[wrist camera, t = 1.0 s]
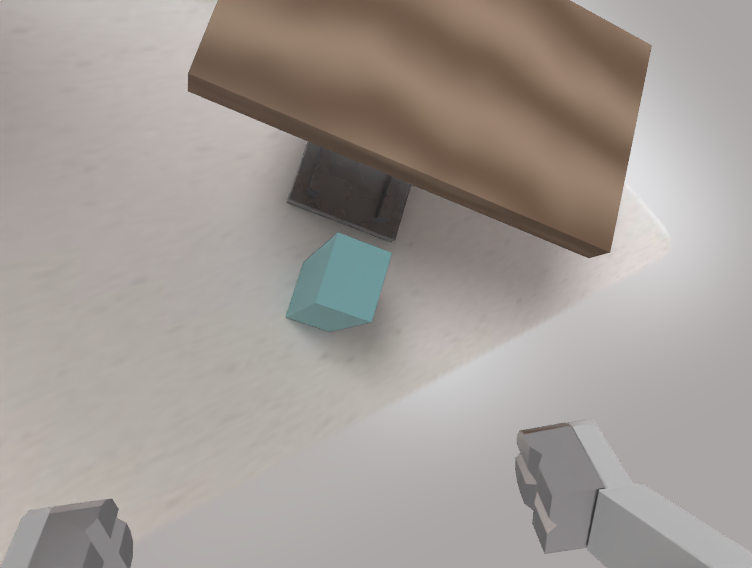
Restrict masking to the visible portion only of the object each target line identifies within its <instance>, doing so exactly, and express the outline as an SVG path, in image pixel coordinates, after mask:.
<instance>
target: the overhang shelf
mask: <svg viewBox="0 0 752 568" xmlns="http://www.w3.org/2000/svg"><path fill="white" fill-rule="evenodd" d="M651 47H652V46H651V45H650V44H648V43H646V42H644V41H643V40H641V39H639V38H637V37H635V36H634V35H632V34H630V33H628V32H626V31H624V30H623V29H621V28H619V27H617V26H615V25H614V24H612V23H610V22H608V21H606V20H605V19H602V18H601V17H599V16H597V15H595V14H594V13H592V12H590V11H588V10H586V9H585V8H583V7H581V6H579V5H577V4H575V3H574V2H572V1H570V0H218V1H217V4H216V6H215V9H214V11H213V14H212V16H211V18H210V21H209V23H208V26H207V28H206V31H205V33H204V36H203V38H202V41H201V43H200V46H199V48H198V50H197V53H196V55H195V58H194V60H193V63H192V65H191V68H190V70H189V73H188V91H189V92H191V93H193V94H196V95H198V96H201V97H203V98H206V99H208V100H210V101H213V102H215V103H218V104H220V105H222V106H225V107H227V108H230V109H232V110H234V111H237V112H239V113H242V114H244V115H246V116H249V117H251V118H254V119H256V120H258V121H261V122H263V123H266V124H268V125H270V126H273V127H275V128H278V129H280V130H282V131H285V132H287V133H290V134H292V135H294V136H297V137H299V138H302V139H304V140H306V141H309V142H311V143H314V144H316V145H318V146H321V147H323V148H326V149H328V150H330V151H333V152H335V153H338V154H340V155H342V156H345V157H347V158H350V159H352V160H354V161H357V162H359V163H362V164H364V165H366V166H369V167H371V168H374V169H376V170H378V171H381V172H383V173H386V174H388V175H390V176H393V177H395V178H398V179H400V180H402V181H405V182H407V183H410V184H412V185H414V186H417V187H419V188H422V189H424V190H426V191H429V192H431V193H434V194H436V195H438V196H441V197H443V198H446V199H448V200H450V201H453V202H455V203H458V204H460V205H462V206H465V207H467V208H470V209H472V210H474V211H477V212H479V213H482V214H484V215H486V216H489V217H491V218H494V219H496V220H498V221H501V222H503V223H506V224H508V225H510V226H513V227H515V228H518V229H520V230H522V231H525V232H527V233H530V234H532V235H534V236H537V237H539V238H542V239H544V240H546V241H549V242H551V243H554V244H556V245H558V246H561V247H563V248H566V249H568V250H570V251H573V252H575V253H578V254H580V255H582V256H585V257H587V258H591V257H595V256H598V255H602V254H606V253H610V250H611V245H612V241H613V236H614V231H615V226H616V221H617V216H618V211H619V206H620V201H621V196H622V191H623V186H624V181H625V176H626V171H627V165H628V161H629V156H630V151H631V146H632V141H633V136H634V131H635V126H636V121H637V116H638V111H639V106H640V101H641V96H642V91H643V86H644V82H645V77H646V72H647V67H648V61H649V56H650V52H651Z"/></svg>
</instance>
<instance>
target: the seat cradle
mask: <svg viewBox="0 0 752 568" xmlns="http://www.w3.org/2000/svg"><path fill="white" fill-rule="evenodd" d="M410 187H411V184H410V183H407V182H405V181H402V180H400V179H398V178H395V177H393V176H390V175H388V174H386V173H383V172H381V171H378V170H376V169H374V168H371V167H369V166H366V165H364V164H362V163H359V162H357V161H354V160H352V159H350V158H347V157H345V156H342V155H340V154H338V153H335V152H333V151H330V150H328V149H326V148H323V147H321V146H318V145H316V144H314V143H311V142H309V141H308V142H307V145H306V148H305V151H304V154H303V157H302V160H301V163H300V166H299V169H298V171H297V174H296V177H295V180H294V183H293V186H292V189H291V192H290V195H289V198H288V201H287V202H288V203H290V204H293V205H295V206H298V207H301V208H303V209H306V210H309V211H311V212H314V213H316V214H319V215H322V216H324V217H327V218H329V219H332V220H335V221H337V222H340V223H342V224H345V225H348V226H350V227H353V228H355V229H358V230H361V231H363V232H366V233H368V234H371V235H374V236H376V237H379V238H381V239H384V240H387V241H389V242H392V241H394V240H395V238H396V235H397V231H398V228H399V224H400V221H401V218H402V214H403V211H404V207H405V204H406V200H407V197H408V194H409V190H410Z"/></svg>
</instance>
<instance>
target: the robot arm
mask: <svg viewBox="0 0 752 568" xmlns="http://www.w3.org/2000/svg"><path fill="white" fill-rule="evenodd" d="M517 445H518V448H519V450H520V452H521V453H520V454H519V455H518V456H517V457H516V463H515V470H516V477H517V483H518V486H519V490H520V493H521V496H522V498H523V501H524V504H526V505H527V506H528V507H530V508H531V509H532V510H534V512H533V525H534V529H535V531H536V533H537V536H538V538H539V541H540V543H541V546H542V548H543V551H544V553H545V554H547V553H554V552H561V551H568V550H574V549H580V548H587V550H588V551H589V552H590V553H591V554H592V555H594V557H595V558H597V559H598V560H599V561H600V562H601V563H602V564H603V565H604V566H606V567H607V568H752V553H751V552H750V551H748V550H747V549H745V548H743V547H742V546H740V545H739V544H737V543H735V542H734V541H732V540H731V539H729V538H728V537H726V536H724V535H723V534H721V533H720V532H718V531H717V530H715V529H713V528H712V527H710V526H709V525H707V524H705V523H704V522H702V521H701V520H699V519H697V518H696V517H694V516H693V515H691V514H690V513H688V512H686V511H685V510H683V509H682V508H680V507H678V506H677V505H675V504H674V503H672V502H671V501H669V500H667V499H666V498H664V497H663V496H661V495H659V494H658V493H656V492H655V491H653V490H651V489H650V488H648V487H647V486H645V485H644V484H642V483H636V484H633V482H632V481H631V479H630V477H629V476H628V474H627V472H626V471H625V469H624V467H623V466H622V464H621V462H620V461H619V459H618V457H617V456H616V454H615V453H614V451H613V449H612V448H611V446H610V444H609V443H608V441H607V439H606V438H605V436H604V435H603V433H602V431H601V430H600V428H599V426H598V425H597V423H596V422H595V421H594V420H592V419H587V420H581V421H575V422H568V423H559V424H554V425H548V426H542V427H537V428H532V429H526V430H521V431H519V433H518V435H517ZM117 513H118V507H117V506H116V504H115V502H114V501H113V499H105V500H98V501H91V502H84V503H76V504H69V505H62V506H55V507H48V508H42V509H35V510H29V511H28V512H27V513H26V514H25V515H24V517H23V518H22V519H21V521H20V523H19V526H18V528H17V530H16V533H15V535H14V537H13V539H12V542H11V544H10V546H9V549H8V551H7V553H6V555H5V558H4V560H3V562H2V565H1V567H0V568H130V566H131V562H132V557H133V540H132V536H131V531H130V529H129V527H128V525H127V523H126V522H124V521H121V520H119V519H117V518H116V517H117Z"/></svg>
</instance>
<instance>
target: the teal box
mask: <svg viewBox="0 0 752 568" xmlns="http://www.w3.org/2000/svg"><path fill="white" fill-rule="evenodd" d="M391 255H392V253H391V252H389V251H386V250H383V249H381V248H378V247H375V246H373V245H370V244H367V243H365V242H362V241H359V240H357V239H354V238H352V237H349V236H346V235H344V234H341V233H337V234H335V235H334V236H333V237H332V238H331V239H330V240H329V241H327V242H326V243H325V244H324V245H323V246H322V247H321V248H319V249H318V250H317V251H316V252H315V253H314V254H313V255H311V256H310V257H309V258H308V259H307V260H306V261H304V262H303V265H302V268H301V271H300V274H299V277H298V281H297V284H296V287H295V290H294V293H293V296H292V299H291V302H290V305H289V308H288V311H287V314H286V318H289V319H292V320H295V321H298V322H301V323H304V324H307V325H310V326H313V327H316V328H319V329H322V330H325V331H328V332H332V331H336V330H340V329H345V328H349V327H353V326H358V325H362V324H366V323H371V322H372V320H373V316H374V313H375V310H376V306H377V303H378V299H379V296H380V292H381V289H382V286H383V282H384V279H385V275H386V272H387V268H388V265H389V262H390V258H391Z"/></svg>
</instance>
